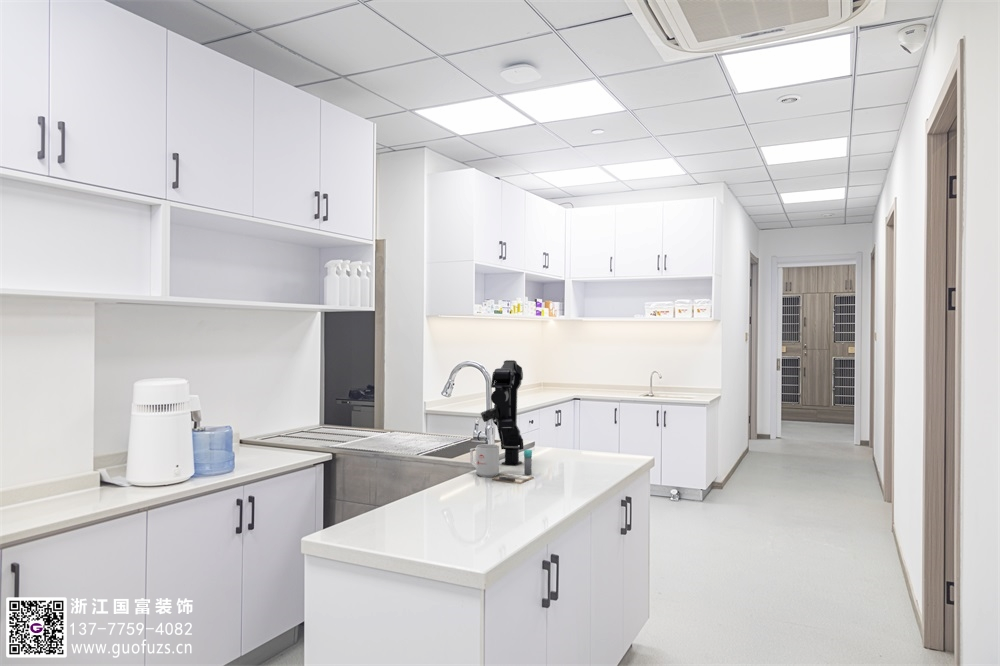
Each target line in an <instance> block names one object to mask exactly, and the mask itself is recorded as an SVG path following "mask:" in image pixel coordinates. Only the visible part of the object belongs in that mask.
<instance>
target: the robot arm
mask: <svg viewBox="0 0 1000 666" xmlns="http://www.w3.org/2000/svg"><path fill="white" fill-rule="evenodd" d="M523 379H524V372H523V367H522V366H520V364H518V363H517V360H513V359H511V360H509V359H507V360H504V361H503V364H502V365H501V368H496V369H494V370H493V371H492V375H491V384H490V387H491V388H494V390H493V392H492V393H491V396H490V400H491V402H492V403H493V407H492V408H489V409H487V410H484V411H481V412H480V416H481V418H482V421H483V422H484V423H487V422H488V421H490V420H492V422H493V424H494V425H495V426H496V428H497V433H498V437H499V440H500V448H501V450H504V461H503V462H501V464H502V465H509V466H518V465H519V464H522V463H523V462H522V460H521V461H519V460H520V458H519V457H520V455H519V453H520V451H521V450H524V439H523V436H522V435H521V430H520V429H519V426H518V424H517V419H518V390H519V389H520V388H521V385H522V381H523Z"/></svg>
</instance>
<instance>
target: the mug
mask: <svg viewBox="0 0 1000 666" xmlns="http://www.w3.org/2000/svg"><path fill="white" fill-rule="evenodd" d="M474 450H475V454H476V455H475V458H476V459H475V460H476V461H475V462H474V455H473V454H474ZM469 453H470V463H471V465H472V466H473V467H474V468H475V471H476V474H477V476H479V477H482V478H495V477H496V476H497V477H498V474H499V473H500V445H498V444H493V443H492V444H491V443H485V444H478V445H476V447H475V448H474V447H473V448H470V449H469Z"/></svg>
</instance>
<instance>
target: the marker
mask: <svg viewBox="0 0 1000 666" xmlns="http://www.w3.org/2000/svg"><path fill="white" fill-rule="evenodd" d="M523 450H524V451H523V458H524V460H523V463H524V464H523V465H524V467H523V468H524V469H523V470H524V472H523V473H524V474H523V476H532V473H533V471H532V469H533V467H532V460H533V459H532V457H533V450H532V449H523Z"/></svg>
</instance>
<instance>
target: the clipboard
mask: <svg viewBox="0 0 1000 666" xmlns="http://www.w3.org/2000/svg"><path fill="white" fill-rule="evenodd" d="M534 478H535V477H534V476H532V475H524V474H523V475H522V474H521V475H520V474H514V473H513V474H512V473H504V474H502V475H498V476H497V477H496V476H495V477H493V478H492V479H491V481H495V482H503V483H509V484H510V483H511V484H512V483H513V484H518V485H519V484H520V485H521V484H523V483H526V482H528V481H530V480H533V479H534Z"/></svg>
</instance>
